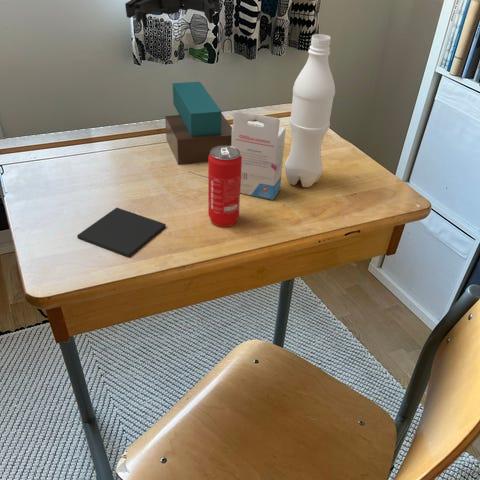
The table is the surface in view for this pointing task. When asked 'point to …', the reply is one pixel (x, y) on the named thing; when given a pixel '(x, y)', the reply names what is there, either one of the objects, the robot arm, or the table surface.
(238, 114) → the ink box
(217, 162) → the beverage can
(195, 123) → the teal tall block
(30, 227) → the table surface
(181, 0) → the robot arm
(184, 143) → the walnut stand
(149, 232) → the coaster
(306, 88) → the water bottle
